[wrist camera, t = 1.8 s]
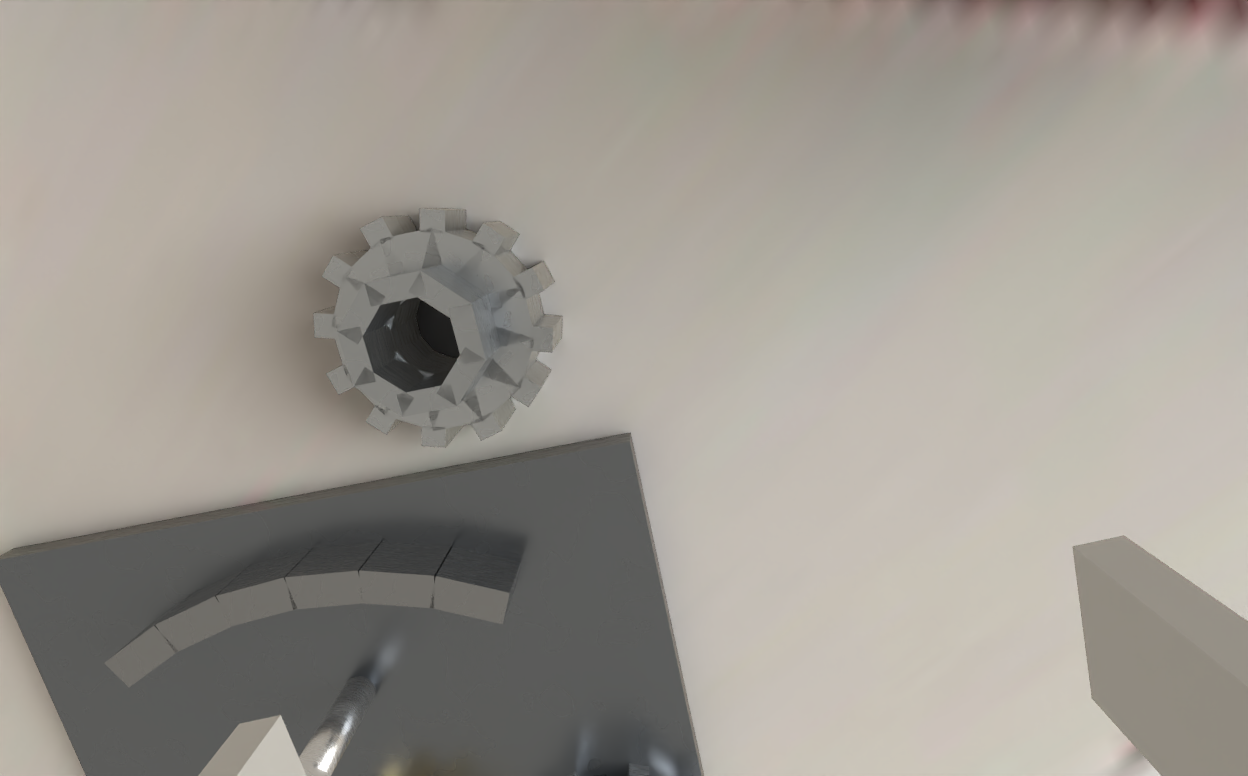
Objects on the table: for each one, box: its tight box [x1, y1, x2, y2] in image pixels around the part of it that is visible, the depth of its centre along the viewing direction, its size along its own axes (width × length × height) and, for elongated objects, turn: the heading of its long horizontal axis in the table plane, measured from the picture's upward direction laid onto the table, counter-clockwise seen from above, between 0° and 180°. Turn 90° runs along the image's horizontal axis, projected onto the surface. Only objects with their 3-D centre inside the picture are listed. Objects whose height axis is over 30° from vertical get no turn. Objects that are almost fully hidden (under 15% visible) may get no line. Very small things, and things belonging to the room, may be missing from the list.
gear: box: [313, 208, 563, 448], centre depth 27 cm, size 9×9×6 cm
